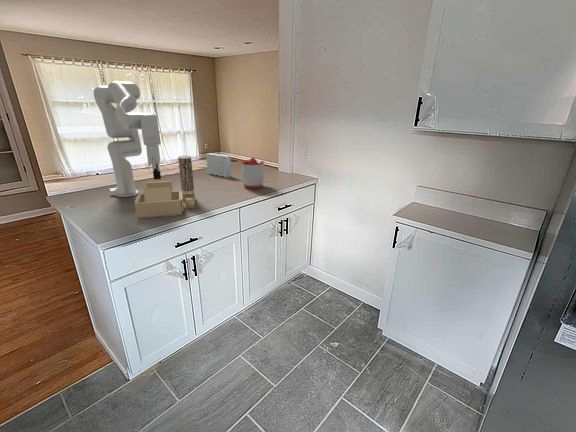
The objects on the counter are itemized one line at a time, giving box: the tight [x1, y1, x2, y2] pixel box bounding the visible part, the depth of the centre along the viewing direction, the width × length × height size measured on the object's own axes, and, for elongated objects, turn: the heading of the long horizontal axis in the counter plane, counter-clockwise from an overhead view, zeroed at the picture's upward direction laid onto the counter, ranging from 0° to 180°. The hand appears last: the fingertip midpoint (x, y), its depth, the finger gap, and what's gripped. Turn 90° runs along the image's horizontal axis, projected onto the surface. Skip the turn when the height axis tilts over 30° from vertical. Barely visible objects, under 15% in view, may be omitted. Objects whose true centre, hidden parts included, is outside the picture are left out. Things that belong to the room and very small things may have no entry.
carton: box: [134, 190, 184, 220], centre depth 152 cm, size 22×16×8 cm
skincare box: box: [205, 152, 232, 178], centre depth 226 cm, size 21×6×16 cm, turn 58°
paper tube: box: [177, 155, 196, 201], centre depth 168 cm, size 7×7×25 cm
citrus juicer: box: [240, 157, 265, 190], centre depth 198 cm, size 16×17×20 cm
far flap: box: [145, 180, 173, 192], centre depth 155 cm, size 12×1×6 cm, turn 109°
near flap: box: [143, 187, 172, 202], centre depth 143 cm, size 12×1×6 cm, turn 109°
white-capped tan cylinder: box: [184, 197, 196, 210], centre depth 159 cm, size 5×5×5 cm
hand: (157, 178), depth 146 cm, fingers closed
